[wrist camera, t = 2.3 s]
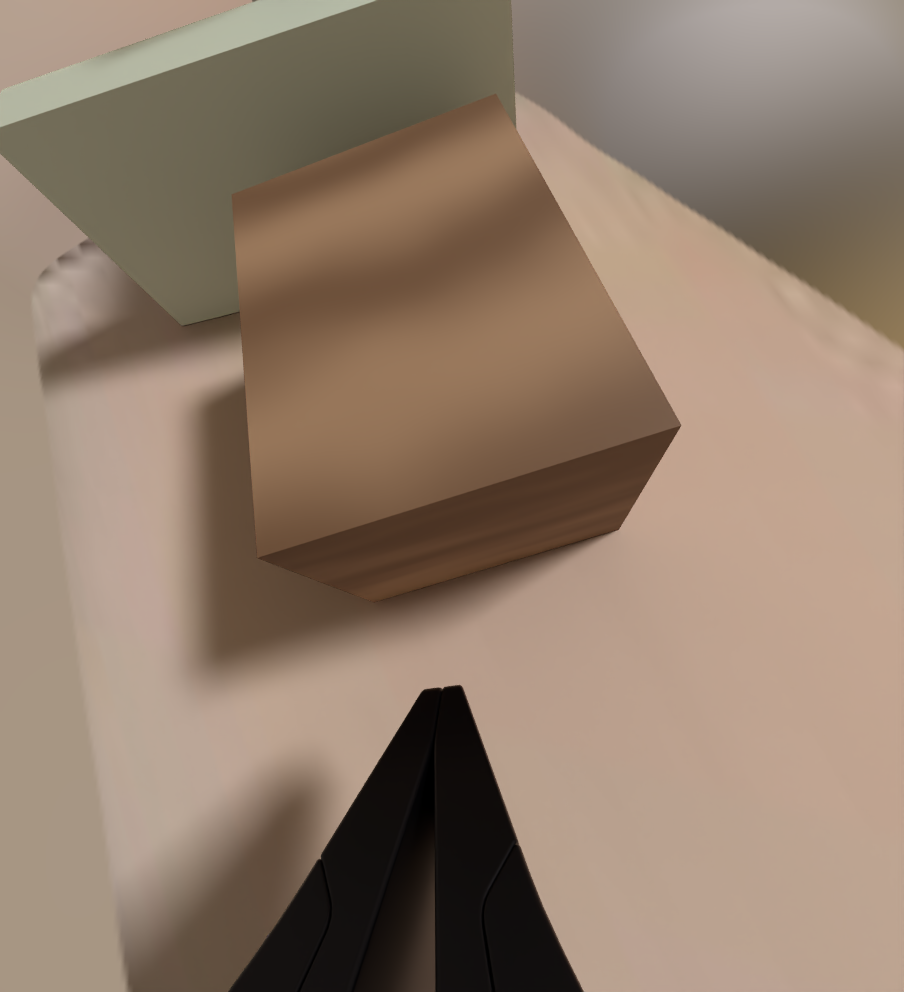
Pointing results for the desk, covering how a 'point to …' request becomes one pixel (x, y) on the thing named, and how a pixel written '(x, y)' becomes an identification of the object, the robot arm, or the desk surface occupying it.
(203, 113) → the sage board
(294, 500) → the walnut block
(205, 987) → the desk surface
